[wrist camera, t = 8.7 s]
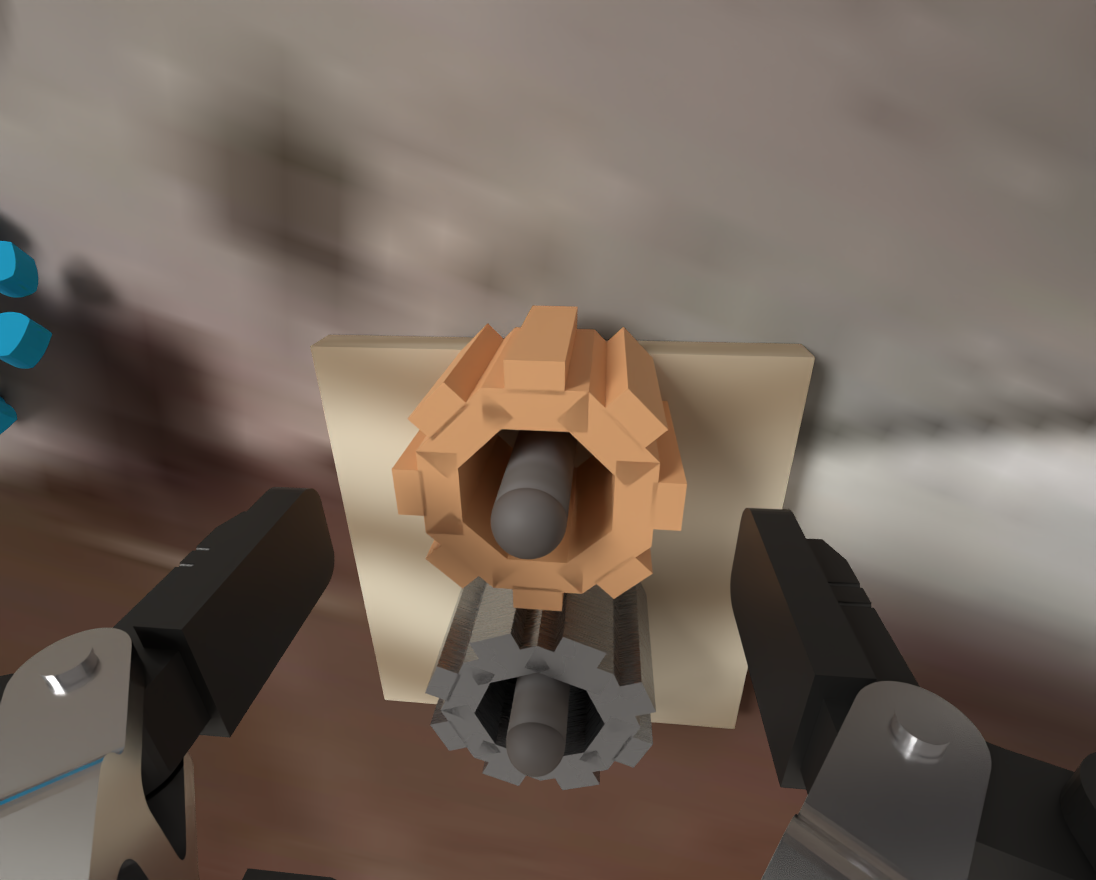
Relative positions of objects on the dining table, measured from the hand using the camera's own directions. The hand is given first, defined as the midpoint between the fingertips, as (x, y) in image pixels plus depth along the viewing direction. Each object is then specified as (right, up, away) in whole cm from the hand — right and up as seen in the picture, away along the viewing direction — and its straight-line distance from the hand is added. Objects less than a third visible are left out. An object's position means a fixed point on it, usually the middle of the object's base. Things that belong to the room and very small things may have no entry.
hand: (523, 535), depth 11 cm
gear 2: (+1, -4, +9) cm, 10 cm away
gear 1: (+1, +3, +6) cm, 6 cm away
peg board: (+1, -2, +9) cm, 9 cm away
